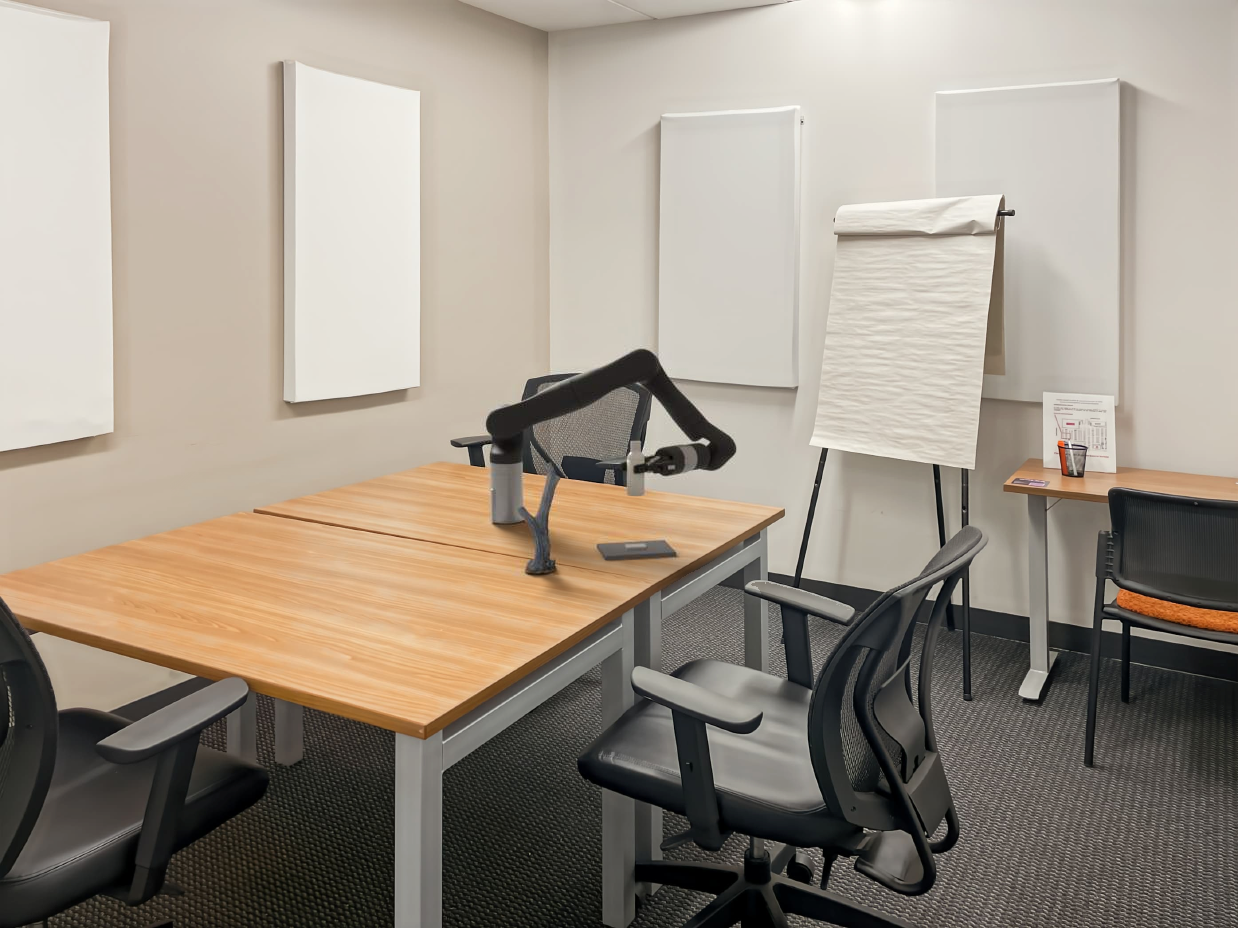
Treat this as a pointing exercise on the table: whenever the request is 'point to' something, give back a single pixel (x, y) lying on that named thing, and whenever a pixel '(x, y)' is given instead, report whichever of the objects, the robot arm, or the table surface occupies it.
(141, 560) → the table surface
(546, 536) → the bare tree trunk
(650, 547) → the dock mat
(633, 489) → the white tabbed cylinder
